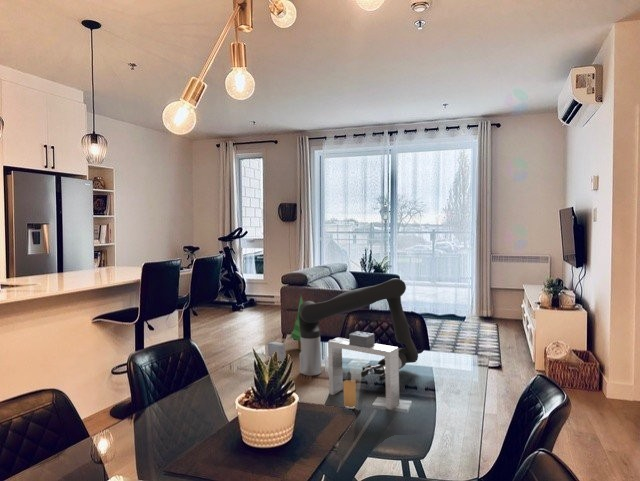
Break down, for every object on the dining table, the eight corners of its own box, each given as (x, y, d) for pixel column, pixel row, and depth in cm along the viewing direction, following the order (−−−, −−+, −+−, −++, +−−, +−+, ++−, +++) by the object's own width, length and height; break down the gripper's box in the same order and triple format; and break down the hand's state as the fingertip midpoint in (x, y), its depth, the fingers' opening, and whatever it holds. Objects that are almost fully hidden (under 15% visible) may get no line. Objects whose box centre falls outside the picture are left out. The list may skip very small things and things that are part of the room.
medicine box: (285, 359, 231) (285, 343, 231) (280, 362, 227) (279, 345, 227) (273, 357, 235) (273, 341, 235) (268, 360, 232) (267, 343, 231)
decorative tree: (311, 353, 241) (309, 297, 239) (284, 351, 246) (282, 296, 244) (320, 346, 253) (318, 293, 252) (294, 344, 259) (293, 292, 257)
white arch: (329, 394, 185) (327, 331, 184) (338, 388, 191) (337, 327, 189) (390, 409, 169) (389, 341, 167) (399, 403, 174) (398, 336, 173)
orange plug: (342, 409, 171) (340, 373, 170) (346, 404, 175) (345, 369, 174) (353, 411, 168) (352, 374, 168) (358, 406, 173) (356, 370, 172)
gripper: (375, 354, 202) (356, 364, 189) (404, 359, 193) (386, 370, 180) (375, 370, 202) (356, 382, 189) (404, 376, 193) (386, 389, 180)
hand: (371, 376), depth 184 cm, fingers open, 8 cm apart
